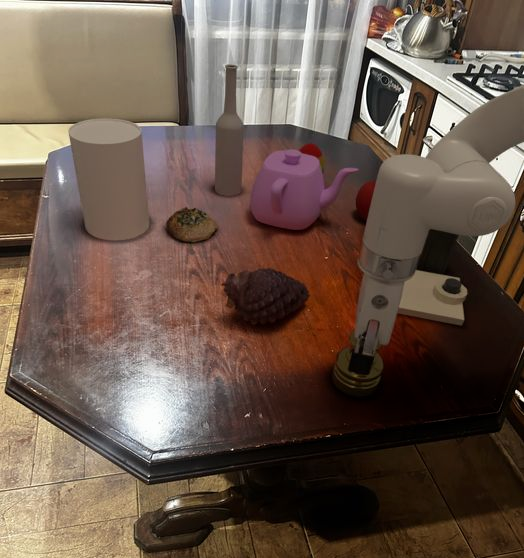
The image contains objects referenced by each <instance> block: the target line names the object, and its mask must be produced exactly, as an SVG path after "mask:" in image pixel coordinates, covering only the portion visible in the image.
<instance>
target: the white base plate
mask: <svg viewBox="0 0 524 558" xmlns="http://www.w3.org/2000/svg"><path fill="white" fill-rule="evenodd" d="M448 278H454V279H457V280H459V281H460V282H461V278H460V277H457V276H450V275H445V274H443V275H440V274H435V273H429V272H423V271H419V270H418V269H416V271H415V274H414V276H413V277H412V278H411V279H409V280H407V281H405V283H404V288H403V293H402V297H401V301H400V305H399V309H398V312H397V315H398V314H399V315H404V316H410V317H414V318H420V319H426V320H430V321H435V322H441V323H447V324H451V325H457V326H463V325H464V322H465V313H464V305H463V303H464V302H465V300H466V299H467V295H468V289H467V287H465V286H464V285H463V284H462V286H461V288H460V290H459V293H458V294H450V293H447V292H445V291H444V290H443V286H444V283H445V281H446V279H448Z"/></svg>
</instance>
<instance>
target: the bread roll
mask: <svg viewBox="0 0 524 558" xmlns="http://www.w3.org/2000/svg"><path fill="white" fill-rule="evenodd" d="M165 226H166V229H167V232H168V233H169V234H170V235H171V236H172V237H173V236H174V238H175V239H177V240H179V241H182V242H185V243H187V242H188V243H196V242H200V241H204V240H209V239H210V237H211V236H212V234H214V232H215V231H216V230H217V229H218V227H219V226H218V224H217V223H216V220H215V219H213V218H212V217H211V216H210V215H208V214H207V212H205V211H203V210H201V209H199V208H197V207H193V208H188V206H185V207H183V208H181V209H178V210H177V211H175V212H174V213H173V214H172V215H170V216H169V217H168V219H167V220H166V222H165Z"/></svg>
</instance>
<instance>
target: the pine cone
mask: <svg viewBox="0 0 524 558" xmlns="http://www.w3.org/2000/svg"><path fill="white" fill-rule="evenodd" d="M220 285H221V287H224V288H223V292H224V293H225V294H226V296H227V299H226V303H225V306H226V307H227V308H228V309H231V308H234V309H235V311H237V312H238V314H239V315H240V316H241V317H243V320H244V321H246V322H250V324H251V325H253V326H255V325H257V324H258V323H260V325H266V323H267V322H270V323H271V324H274V323H275V322H276V321H277V319H279V320H282V319H284V317H287V316H289V314H290V313H294V312H295V311H297V309H298V308H300V307H302V305H305V303H306V302H307V301H309V298H310V297H311V295H310V290H309V289H308V287H307V286H306V283H303V282H301V281H300V280H299V279H295V278H294V277H292V276H289V275H287V274H286V273H285V272H282V271H280V270H276V269H275V268H271V267H267V268H263V267H262V268H258V269H256V270H252V271H250V270H249V269H245V270H242V271H239V273H238V274H237V276H236V274H235V273H229V275H227V278H226V279H225V281H223V282H222V283H221V284H220Z"/></svg>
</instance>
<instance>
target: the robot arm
mask: <svg viewBox="0 0 524 558" xmlns="http://www.w3.org/2000/svg"><path fill="white" fill-rule="evenodd" d="M523 143H524V84H522V85H520V86H517V87H515V88H513V89H511V90H508V91H506V92H504V93H502V94H500V95H497V96H496V97H494V98H491V99H489V100H488V101H486V102H485V103H483V104H481V105H480V106H478V107H477V108H476V109H474V110H472V111H471V112H470V113H469V114H468V115H466V116H465V117H464V118H463V119H461V121H459V122H458V123H457V124H456V125H455V126H453V127H452V128H451V129H450V130H449V131H448V132H447V133H446V134H444V135H443V137H442V138H440V139H439V140H438V141H437V142H436V143H435V144H434V145H433V146H432V148H431V149H430V150H429V151H428V152H427V155H426V156H420V155H417V154H407V153H406V154H405V153H403V154H395V155H392V156H390V157H388V158H386V159H385V160H384V161H383V162H382V164H381V165H380V167H379V169H378V171H377V172H378V173H377V176H376V180H375V181H376V184H375V189H374V193H373V197H372V201H371V206H370V210H369V214H368V218H367V221H366V224H365V227H364V232H363V236H362V241H361V245H360V248H359V253H358V257H357V262H356V263H357V266H358V268H359V269H360V271H361V272H363V275H362V279H361V283H360V284H361V285H360V289H359V293H358V299H357V305H356V312H355V313H356V314H355V324H354V330H355V334H354V336H355V338H356V339H357V343H356V347H355V349H353V351H352V355H351V358H350V362H349V366H348V371H350V372H354V373H359V374H364V375H369V374H370V370H371V367H372V364H373V361H374V357H375V350H376V347H377V343H378V339H379V342H380V344H382V346H387V345H389V344H390V340H391V337H392V333H393V330H394V326H395V323H396V319H397V315H398V313H397V312H398V309H399V305H400V301H401V297H402V293H403V288H404V283H405V281H407V280H409V279H411V278H412V277H413V276H414V274H415V271H416V270H417V268H418V265H419V262H420V259H421V256H422V253H423V250H424V246H425V243H426V240H427V237H428V234H429V231H430V229H434V230H439V231H444V232H449V233H453V234H458V235H459V236H464V237H482V236H487V235H490V234H493V233H495V232H497V231H499V230H500V229H502V228H503V227H505V226H506V224H508V222H509V221H510V220H511V218H512V216H513V214H514V212H515V209H516V194H515V192H514V190H513V188H512V186H511V185H510V183H509V182H508V181H507V179H506V178H505V177H503V176H502V175H501V174H500V172H498V170H497V169H495V167H493V166H492V165H491V162H492V161H494V160H496V158H497V157H499V156H501V155H502V154H503V153H505V152H507V151H508V150H510V149H512V148H514V147H517V146H518V145H520V144H523ZM365 331H366V334H365V333H364V332H365ZM361 340H365V342H364V346H360V344H361Z"/></svg>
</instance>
